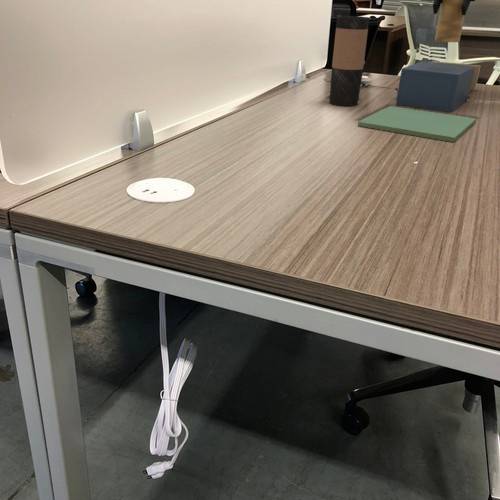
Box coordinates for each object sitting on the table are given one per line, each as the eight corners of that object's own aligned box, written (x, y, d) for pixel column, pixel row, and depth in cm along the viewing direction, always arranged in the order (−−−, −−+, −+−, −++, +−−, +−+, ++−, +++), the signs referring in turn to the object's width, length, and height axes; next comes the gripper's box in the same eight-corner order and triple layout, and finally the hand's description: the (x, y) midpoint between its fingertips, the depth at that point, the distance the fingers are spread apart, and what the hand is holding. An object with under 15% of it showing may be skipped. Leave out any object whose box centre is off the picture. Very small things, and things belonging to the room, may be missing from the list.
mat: (475, 123, 113) (476, 118, 113) (453, 142, 98) (454, 137, 98) (389, 110, 123) (389, 106, 122) (357, 126, 108) (357, 121, 107)
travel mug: (364, 105, 127) (376, 18, 117) (338, 107, 124) (347, 17, 115) (348, 99, 133) (358, 16, 123) (323, 101, 130) (331, 15, 121)
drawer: (434, 83, 153) (439, 59, 150) (478, 89, 147) (483, 64, 144) (414, 93, 138) (419, 66, 135) (462, 99, 132) (468, 72, 129)
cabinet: (415, 94, 141) (421, 61, 137) (466, 101, 135) (474, 66, 131) (395, 104, 129) (401, 68, 125) (451, 112, 122) (459, 74, 118)
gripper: (523, -55, 118) (491, 24, 114) (442, -54, 127) (410, 19, 122) (526, -85, 112) (493, -2, 107) (440, -82, 121) (406, -5, 116)
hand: (448, 9), depth 115 cm, fingers closed on pepper mill, 6 cm apart
